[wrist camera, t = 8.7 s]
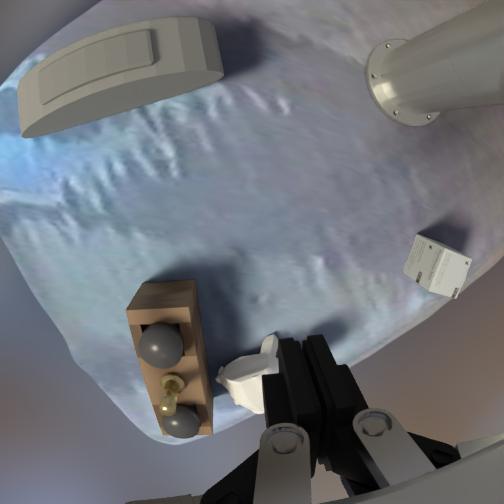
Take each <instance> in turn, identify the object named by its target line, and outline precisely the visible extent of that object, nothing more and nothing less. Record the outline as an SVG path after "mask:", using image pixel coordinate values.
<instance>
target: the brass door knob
mask: <svg viewBox="0 0 504 504" xmlns="http://www.w3.org/2000/svg"><path fill="white" fill-rule="evenodd" d="M160 387H161V389H162V390H163V393H162V398H161V402H160V407H159V411H160V412H161V413H162V414H163V415H166V416H172V415H174V414H175V412H176V406H177V399H178V394H180V393H182V392H183V391H184V388H185V381H184V379H183V378H182V377H181V376H180V375H178V374H175V373H166V374H164V375H163V376H162V377H161V380H160Z"/></svg>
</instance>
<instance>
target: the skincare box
mask: <svg viewBox="0 0 504 504" xmlns="http://www.w3.org/2000/svg"><path fill="white" fill-rule="evenodd" d="M471 262H472V258H471V257H469V256H467V255H465V254H463V253H461V252H459V251H457V250H455V249H453V248H451V247H449V246H447V245H445V244H443V243H440V242H438V241H435V240H432V239H430V238H427V237H424V236H422V235H419V234H417V235H416V237H415V240H414V243H413V246H412V249H411V252H410V254H409V257H408V259H407V262H406V264H405V266H404V268H403V273H405V274H406V275H408V276H409V277H410V278H412V279H413V280H415V281H416V282H417V283H419V284H420V285H421V286H423V287H424V288H425V289H427V290H428V291H430V292H434V293H438V294H441V295H445V296H448V297H452V298H455V299H456V298H457V296H458V294H459V291H460V289H461V287H462V285H463V283H464V281H465V279H466V276H467V272H468V270H469V267H470V265H471Z"/></svg>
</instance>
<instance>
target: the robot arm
mask: <svg viewBox="0 0 504 504" xmlns="http://www.w3.org/2000/svg"><path fill="white" fill-rule="evenodd" d="M372 76H373V78H372ZM366 80H367V84H368V88H369V90H370V93H371V95H372V97H373V99H374V100H375V102H376V104H377V105H378V106H379V107H380V109H381V110H382V111H383V112H384V113H385V114H386V115H387V116H388V117H390V118H391V119H393V120H394V121H396V122H398V123H400V124H403V125H406V126H423V125H426V124H429V123H431V122H432V121H434V120H435V119H436V118H437V117H438V115H439V114H440V112H441V111H447V110H454V109H462V108H470V107H479V106H488V105H497V104H504V0H488V1H486V2H484V3H482V4H480V5H479V6H477V7H475V8H473V9H471V10H469V11H467V12H465V13H463V14H461V15H458V16H456V17H454V18H453V19H450V20H448V21H446V22H444V23H442V24H440V25H438V26H436V27H434V28H432V29H430V30H429V31H427V32H425V33H423V34H421V35H419V36H417V37H415V38H414V39H412V40H410V41H405V40H400V39H392V40H388V41H385V42H383V43H381V44H379V45H378V46H377V47H376V48H374V49H373V51H372V52H371V54H370V55H369V58H368V60H367V64H366ZM393 112H394V113H393ZM278 365H279V373H274V374H264V375H262V393H263V404H264V412H265V420H266V427H267V429H266V430H265V431H264V432H263V434H262V435H261V438H260V445H259V449H258V450H257V451H256V452H255V453H253V454H252V455H251V456H250V457H249V458H247V459H246V460H245V461H244V462H243V463H241V464H240V465H239V466H238V467H237V468H235V469H234V470H233V471H232V472H230V473H229V474H228V475H227V476H225V477H224V478H223V479H222V480H220V481H219V482H218V483H217V484H215V485H214V486H212V487H211V488H210V489H208V490H207V491H206V492H205V494H203V495H199V496H191V494H188V495H182V496H175V497H167V498H158V499H149V500H136V501H130V502H127V503H125V504H312V503H311V478H312V477H313V476H314V473H315V466H316V460H317V459H318V462H319V464H320V465H321V464H324V465H325V469H326V471H331V470H332V471H333V472H334V473H336V474H338V475H340V479H341V482H342V484H343V486H344V488H345V490H346V492H347V494H348V496H349V498H345V499H340V500H335V501H330V502H325V503H320V504H504V434H495V435H491V436H487V437H483V438H479V439H475V440H470V441H466V442H461V443H457V444H456V446H454V447H453V446H451V445H449V444H446V443H443V442H439V441H436V440H432V439H429V438H426V437H423V436H420V435H416V434H413V433H410V432H407V431H406V430H405V429H404V428H403V427H402V425H401V424H400V423H399V422H398V421H397V419H396V418H395V417H394V416H393V415H392V414H391V413H390V412H388V411H386V410H383V409H379V408H370V409H369V407H368V405H367V403H366V401H365V399H364V397H363V395H362V393H361V391H360V389H359V387H358V385H357V383H356V381H355V379H354V377H353V375H352V373H351V371H350V369H349V367H348V366H347V365H346V364H343V365H337V364H336V362H335V360H334V358H333V355H332V353H331V351H330V349H329V347H328V345H327V343H326V341H325V338H324V336H323V335H322V334H320V335H312V336H308V337H307V340H303V341H302V348H301V346H300V343H299V341H294V339H293V338H285V339H278Z"/></svg>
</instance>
